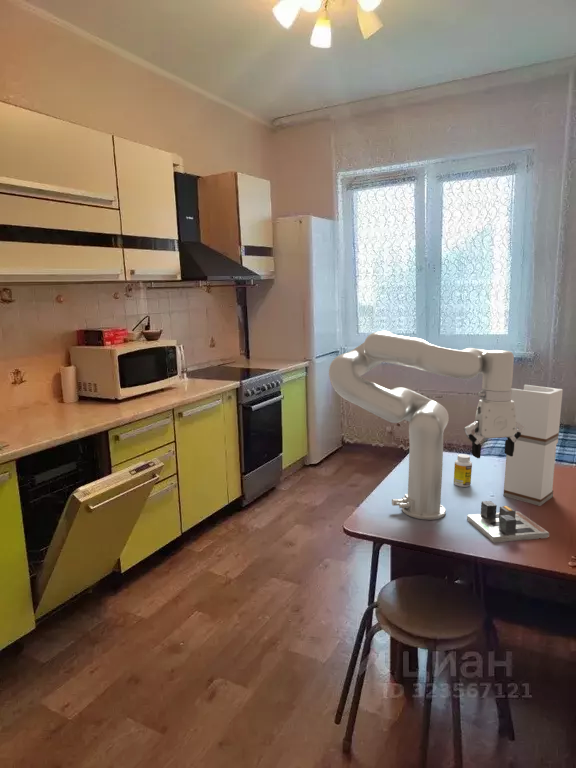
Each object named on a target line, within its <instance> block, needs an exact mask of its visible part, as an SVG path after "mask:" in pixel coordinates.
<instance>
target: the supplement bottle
mask: <svg viewBox="0 0 576 768" xmlns="http://www.w3.org/2000/svg"><path fill="white" fill-rule="evenodd" d="M453 468H454V470H453V484H454V485H455V486H457V487H460V488H467V487H469V486H470V485H471V482H472V471H473V470H472V468H473V462H472V461H471V456H470V455H469V454H467V453H461V454H460V453H459V454H458V455H457V459H456V460H454V467H453Z"/></svg>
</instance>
